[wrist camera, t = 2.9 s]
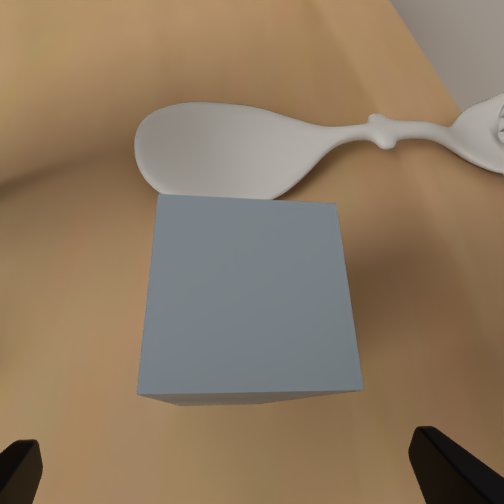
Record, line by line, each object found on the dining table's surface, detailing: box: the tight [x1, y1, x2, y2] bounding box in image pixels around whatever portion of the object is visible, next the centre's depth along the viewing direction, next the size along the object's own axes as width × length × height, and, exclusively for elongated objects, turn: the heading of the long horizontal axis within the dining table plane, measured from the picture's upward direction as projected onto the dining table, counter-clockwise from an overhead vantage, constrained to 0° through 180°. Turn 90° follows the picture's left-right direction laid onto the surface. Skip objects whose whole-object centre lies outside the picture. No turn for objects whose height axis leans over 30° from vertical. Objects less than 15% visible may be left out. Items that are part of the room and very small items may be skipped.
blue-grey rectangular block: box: [137, 194, 364, 406], centre depth 13 cm, size 4×4×13 cm
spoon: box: [134, 93, 504, 200], centre depth 25 cm, size 9×32×4 cm, turn 100°
